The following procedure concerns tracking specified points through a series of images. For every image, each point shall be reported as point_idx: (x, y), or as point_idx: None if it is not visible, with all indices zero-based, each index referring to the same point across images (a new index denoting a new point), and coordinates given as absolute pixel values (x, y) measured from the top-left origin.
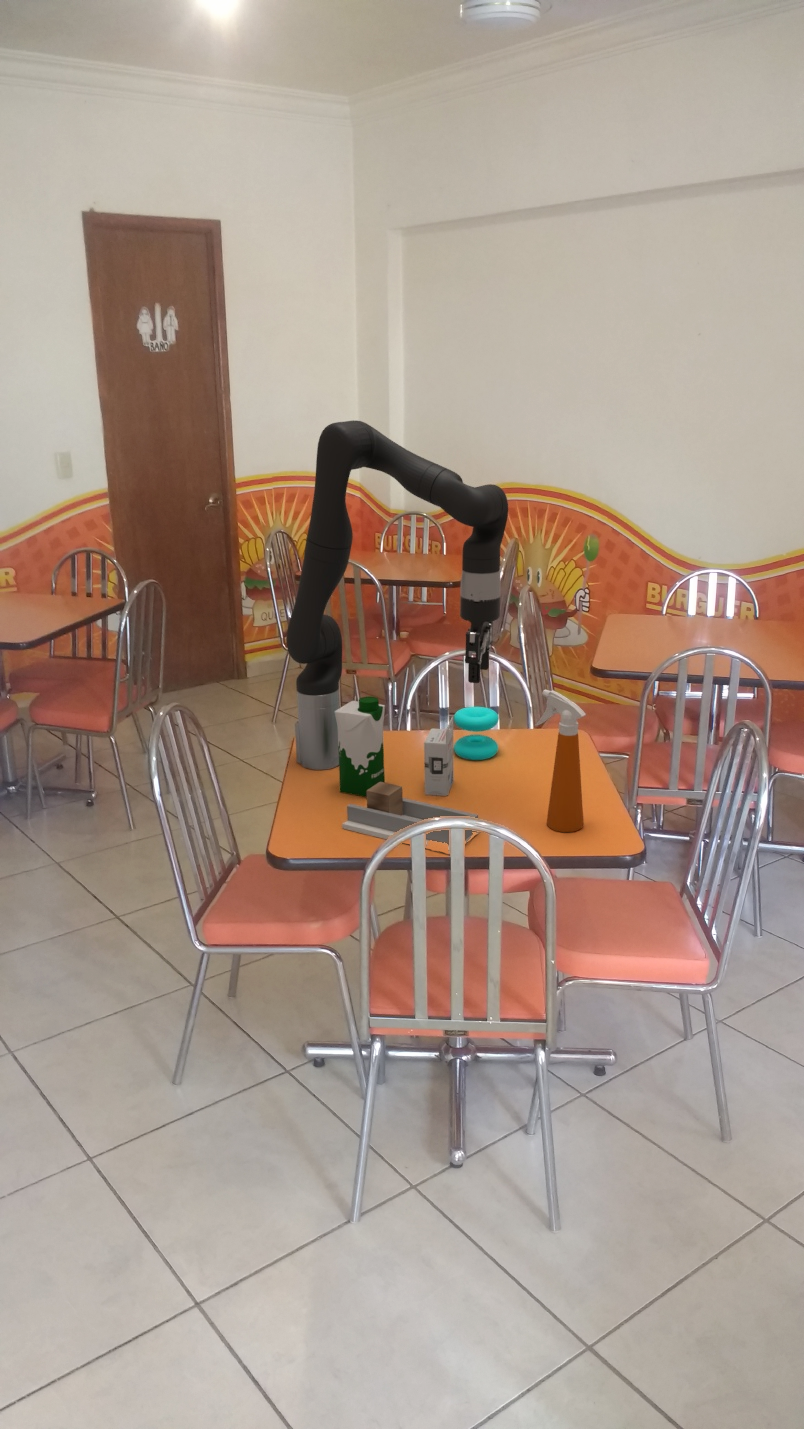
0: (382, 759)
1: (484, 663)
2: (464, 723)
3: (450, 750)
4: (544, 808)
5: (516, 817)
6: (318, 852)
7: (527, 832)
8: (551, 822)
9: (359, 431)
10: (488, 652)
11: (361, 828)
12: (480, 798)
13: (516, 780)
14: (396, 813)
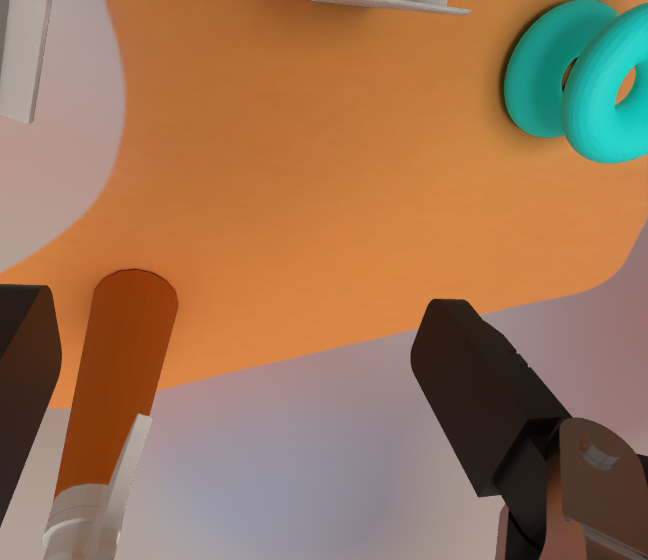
0: None
1: (438, 375)
2: (596, 48)
3: (342, 2)
4: (216, 258)
5: (149, 202)
6: None
7: (66, 233)
8: (100, 288)
9: None
10: (477, 491)
11: None
12: (252, 102)
13: (371, 187)
14: None
